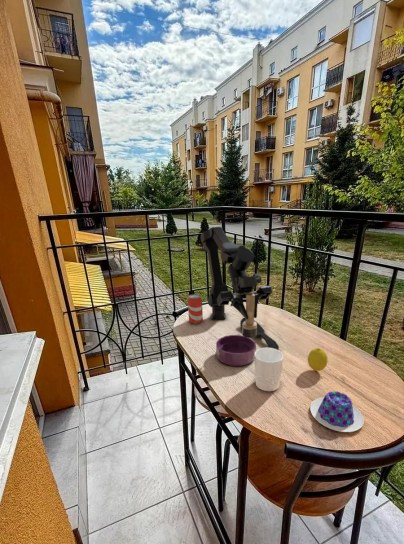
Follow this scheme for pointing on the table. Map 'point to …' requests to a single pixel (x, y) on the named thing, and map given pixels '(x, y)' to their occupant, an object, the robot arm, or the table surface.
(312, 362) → the lemon
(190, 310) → the beverage can
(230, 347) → the bowl
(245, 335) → the dish brush
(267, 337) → the hairbrush
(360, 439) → the table surface
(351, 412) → the blue patterned hat
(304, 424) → the table surface
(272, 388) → the white cup
